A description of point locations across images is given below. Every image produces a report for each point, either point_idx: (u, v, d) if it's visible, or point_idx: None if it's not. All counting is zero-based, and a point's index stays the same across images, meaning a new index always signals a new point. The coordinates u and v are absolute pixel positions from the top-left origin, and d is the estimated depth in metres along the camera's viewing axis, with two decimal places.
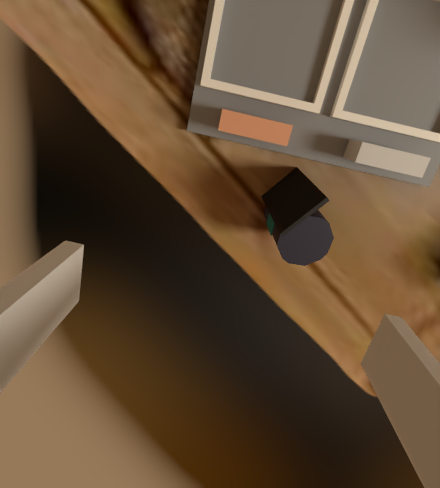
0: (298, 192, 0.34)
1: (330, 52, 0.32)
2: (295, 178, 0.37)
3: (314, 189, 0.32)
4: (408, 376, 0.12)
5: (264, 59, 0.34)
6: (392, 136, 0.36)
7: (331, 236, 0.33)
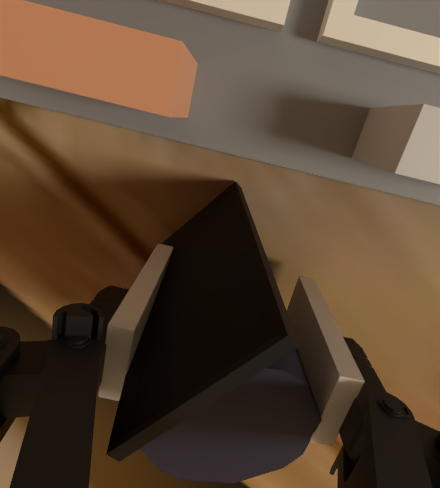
0: (217, 262, 0.11)
1: None
2: (224, 213, 0.14)
3: (256, 266, 0.09)
4: (305, 324, 0.13)
5: None
6: None
7: (315, 417, 0.10)
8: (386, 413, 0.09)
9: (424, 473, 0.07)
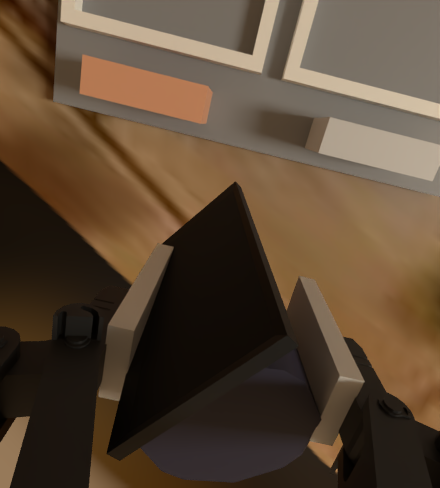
0: (216, 262, 0.11)
1: None
2: (224, 213, 0.14)
3: (256, 265, 0.09)
4: (305, 324, 0.13)
5: None
6: (383, 114, 0.22)
7: (315, 416, 0.10)
8: (386, 413, 0.09)
9: (424, 473, 0.07)
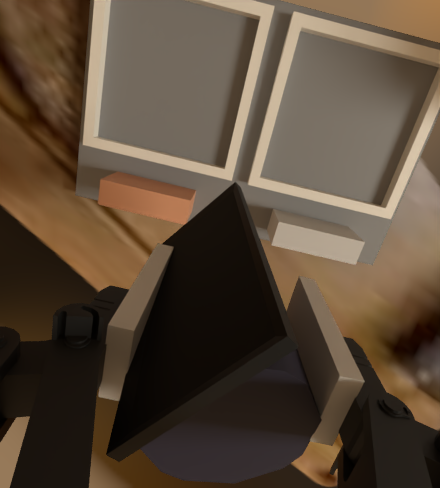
0: (216, 262, 0.11)
1: (239, 109, 0.26)
2: (224, 213, 0.14)
3: (256, 266, 0.09)
4: (305, 324, 0.13)
5: (162, 114, 0.27)
6: (325, 206, 0.29)
7: (315, 417, 0.10)
8: (386, 413, 0.09)
9: (424, 473, 0.07)
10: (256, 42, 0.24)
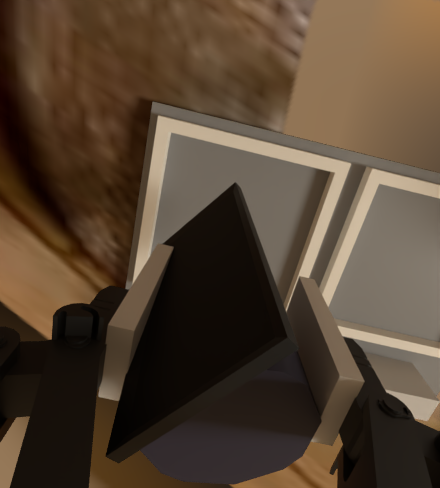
0: (216, 263, 0.11)
1: (305, 259, 0.24)
2: (224, 214, 0.14)
3: (256, 267, 0.09)
4: (305, 324, 0.13)
5: None
6: None
7: (315, 418, 0.10)
8: (386, 413, 0.09)
9: (424, 473, 0.07)
10: (328, 197, 0.22)
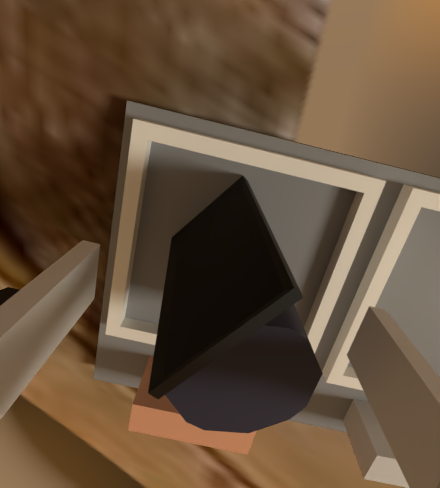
0: (230, 242, 0.13)
1: (323, 300, 0.19)
2: (234, 203, 0.16)
3: (266, 242, 0.11)
4: (389, 365, 0.12)
5: None
6: None
7: (316, 371, 0.12)
8: None
9: None
10: (355, 224, 0.17)
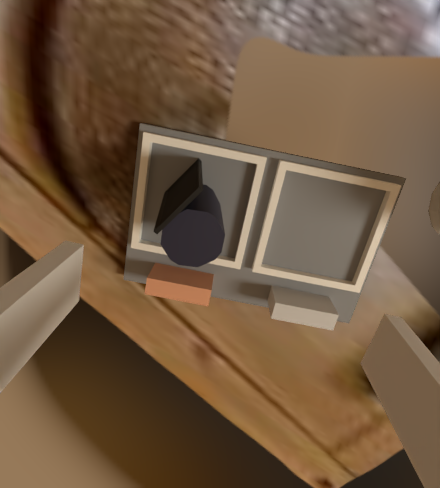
0: (187, 184, 0.30)
1: (244, 222, 0.36)
2: (192, 170, 0.33)
3: (197, 179, 0.28)
4: (408, 376, 0.12)
5: None
6: (310, 283, 0.39)
7: (222, 233, 0.29)
8: None
9: None
10: (255, 180, 0.34)
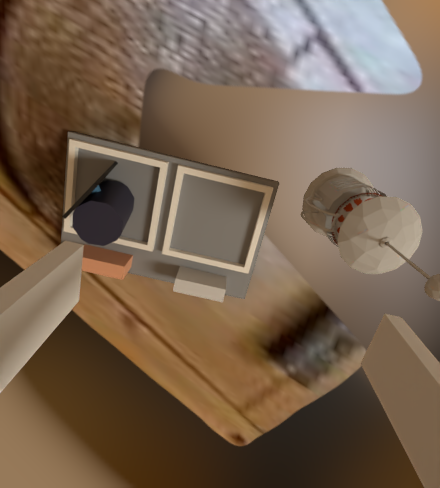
0: None
1: (153, 213, 0.45)
2: None
3: (100, 178, 0.37)
4: (408, 376, 0.12)
5: None
6: (211, 265, 0.48)
7: (120, 220, 0.38)
8: None
9: None
10: (159, 180, 0.43)
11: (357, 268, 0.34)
